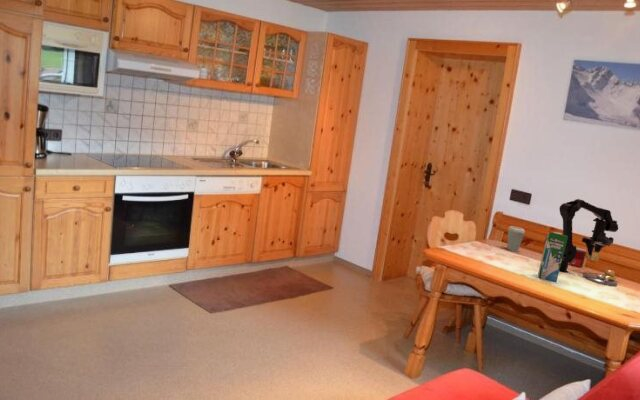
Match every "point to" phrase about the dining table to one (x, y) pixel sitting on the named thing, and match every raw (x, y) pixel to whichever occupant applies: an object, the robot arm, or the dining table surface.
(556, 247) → the milk carton
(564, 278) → the dining table surface
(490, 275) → the dining table surface
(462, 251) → the dining table surface
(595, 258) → the tan rounded lump
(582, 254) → the canned food
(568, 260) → the robot arm
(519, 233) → the disposable coffee cup
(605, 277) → the carrier
